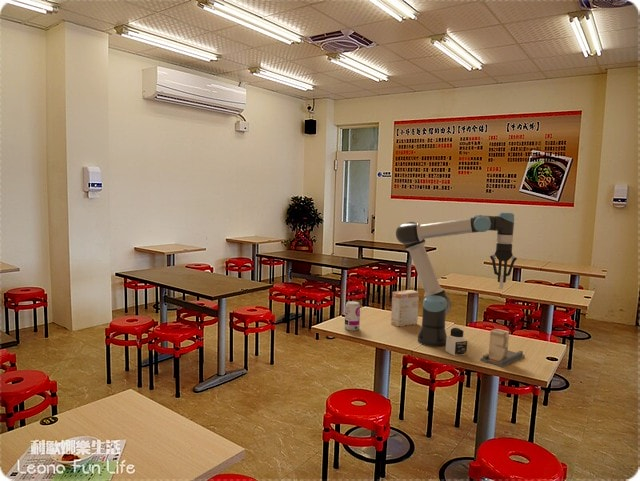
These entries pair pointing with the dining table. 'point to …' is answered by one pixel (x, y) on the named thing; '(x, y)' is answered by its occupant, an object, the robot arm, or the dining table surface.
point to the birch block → (498, 344)
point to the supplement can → (352, 315)
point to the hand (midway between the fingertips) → (501, 288)
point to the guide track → (505, 361)
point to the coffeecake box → (404, 307)
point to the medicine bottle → (456, 342)
